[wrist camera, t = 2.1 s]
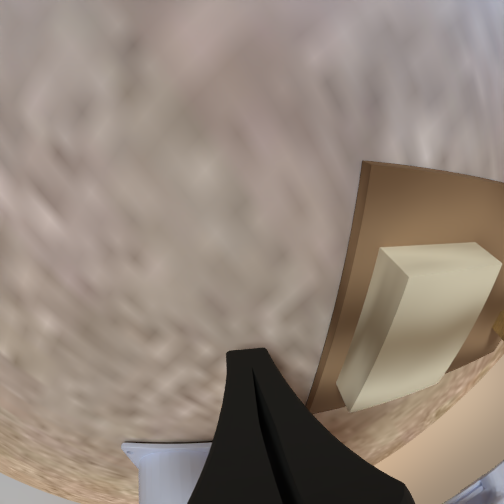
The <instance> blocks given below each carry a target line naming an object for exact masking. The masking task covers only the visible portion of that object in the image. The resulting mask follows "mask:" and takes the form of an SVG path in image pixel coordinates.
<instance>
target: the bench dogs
mask: <svg viewBox="0 0 504 504" xmlns="http://www.w3.org/2000/svg"><path fill="white" fill-rule="evenodd" d="M492 328H493V330H494V331H495V332H496V333H497V334H498V335H499V336H500V338H501V339H502V340H503V341H504V310H503V311H501V312H500V313H499V315H498V317H497V319H496V321H495V323H494V325H493V326H492Z"/></svg>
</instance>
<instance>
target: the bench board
mask: <svg viewBox="0 0 504 504" xmlns="http://www.w3.org/2000/svg"><path fill="white" fill-rule="evenodd" d="M469 242H476V243H477V244H478V245H480V246H481V247H482V248H484V249H485V250H486V251H487V252H489V253H490V254H491V255H493V256H494V257H495V258H496V259H498V260H499V261H500V262H501V263H502V266H501V269H500V271H499V273H498V276H497V278H496V280H495V283H494V285H493V287H492V289H491V292H490V294H489V296H488V298H487V300H486V302H485V304H484V306H483V308H482V310H481V312H480V314H479V316H478V318H477V320H476V322H475V324H474V326H473V328H472V329H471V331H470V333H469V335H468V337H467V338H466V340H465V342H464V343H463V345H462V347H461V348H460V350H459V352H458V353H457V355H456V357H455V358H454V360H453V361H452V363H451V365H450V366H449V368H448V369H447V371H446V372H445V374H446V373H448V372H450V371H453V370H455V369H457V368H460V367H462V366H464V365H466V364H468V363H471V362H473V361H475V360H477V359H479V358H481V357H483V356H485V355H487V354H489V353H491V352H493V351H494V350H495V349H496V347H497V345H498V344H499V342H500V341H501V338H500V336H499V335H498V334H497V333H496V332H495V331H494V330H493V328H492V326H493V325H494V323H495V321H496V319H497V317H498V315H499V313H500V312H501V311H503V310H504V183H503V182H498V181H494V180H489V179H484V178H480V177H475V176H470V175H464V174H459V173H453V172H448V171H442V170H435V169H429V168H422V167H415V166H407V165H400V164H391V163H382V162H373V161H362V168H361V175H360V182H359V189H358V195H357V201H356V207H355V213H354V219H353V224H352V230H351V235H350V240H349V245H348V250H347V255H346V260H345V265H344V269H343V274H342V278H341V283H340V287H339V291H338V295H337V300H336V304H335V308H334V312H333V316H332V319H331V323H330V327H329V331H328V334H327V338H326V342H325V345H324V349H323V352H322V356H321V359H320V363H319V366H318V369H317V373H316V376H315V379H314V382H313V385H312V389H311V392H310V395H309V398H308V401H307V404H306V408H307V409H308V410H309V411H310V412H311V413H312V414H315V413H319V412H324V411H329V410H333V409H337V408H341V407H345V406H346V405H345V403H344V400H343V398H342V396H341V394H340V391H339V389H338V387H337V384H336V382H337V379H338V377H339V374H340V372H341V369H342V366H343V364H344V361H345V358H346V356H347V353H348V350H349V347H350V345H351V342H352V339H353V336H354V333H355V330H356V327H357V324H358V321H359V318H360V315H361V312H362V309H363V305H364V302H365V299H366V295H367V292H368V289H369V285H370V282H371V278H372V275H373V271H374V267H375V263H376V260H377V256H378V252H379V248H380V247H396V246H414V245H432V244H450V243H469Z"/></svg>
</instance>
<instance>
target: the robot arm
mask: <svg viewBox="0 0 504 504" xmlns="http://www.w3.org/2000/svg"><path fill="white" fill-rule="evenodd" d="M226 362H227V377H226V386H225V392H224V398H223V404H222V408H221V412H220V416H219V421H218V425H217V428H216V432H215V435H214V439H213V442H209V443H186V444H149V443H127V442H126V443H122V445H121V448H122V450H123V451H124V452H125V454H126V455H127V456H128V457H129V459H130V460H131V461H132V462H133V463H134V464H135V466H136V467H137V468H138V469H139V504H415V502H414V500H413V498H412V496H411V494H410V492H409V490H408V489H407V487H406V486H405V484H404V483H402V482H401V481H399V480H397V479H395V478H393V477H390V476H389V475H387V474H386V473H384V472H382V471H380V470H379V469H377V468H376V467H374V466H373V465H371V464H369V463H368V462H366V461H365V460H364V459H362V458H361V457H359V456H358V455H357V454H355V453H354V452H353V451H351V450H350V449H349V448H348V447H346V446H345V445H344V444H343V443H341V442H340V441H339V440H338V439H337V438H336V437H335V436H333V435H332V434H331V433H330V432H329V431H328V430H327V429H326V428H325V427H324V426H323V425H322V424H321V423H320V422H319V421H318V420H317V419H316V418H315V417H314V416H313V415H312V413H311V412H310V411H309V410H308V409H307V408H306V407H305V405H304V404H303V403H302V402H301V401H300V399H299V398H298V397H297V396H296V394H295V393H294V392H293V390H292V389H291V388H290V386H289V385H288V384H287V382H286V381H285V379H284V378H283V376H282V375H281V373H280V372H279V370H278V369H277V367H276V365H275V364H274V362H273V360H272V359H271V357H270V355H269V353H268V351H267V349H265V348H255V349H245V350H233V351H228V352H227V353H226ZM442 504H504V460H503V461H502V462H500V463H499V464H498V465H497V466H495V467H494V468H493V469H492V470H490V471H489V472H487V473H486V474H484V475H482V476H481V477H480V478H478V479H477V480H475V481H474V482H472V483H471V484H470V485H468V486H467V487H465V488H464V489H462V490H461V491H460V493H458V494H457V495H455V496H454V497H452V498H450V499H449V500H447V501H446V502H444V503H442Z"/></svg>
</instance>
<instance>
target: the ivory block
mask: <svg viewBox="0 0 504 504" xmlns="http://www.w3.org/2000/svg"><path fill="white" fill-rule="evenodd" d="M501 266H502V263H501V262H500V261H499V260H498V259H496V258H495V257H494V256H493V255H491V254H490V253H489V252H487V251H486V250H485V249H484V248H482V247H481V246H480V245H478V244H477V243H476V242H469V243H450V244H432V245H414V246H396V247H380V248H379V252H378V256H377V260H376V263H375V267H374V271H373V275H372V278H371V282H370V285H369V289H368V292H367V295H366V299H365V302H364V305H363V309H362V312H361V315H360V318H359V321H358V324H357V327H356V330H355V333H354V336H353V339H352V342H351V345H350V347H349V350H348V353H347V356H346V358H345V361H344V364H343V366H342V369H341V372H340V374H339V377H338V379H337V382H336V384H337V387H338V389H339V391H340V394H341V396H342V398H343V400H344V403H345V405H346V407H347V410H348V412H349V413H352V412H355V411H359V410H363V409H366V408H369V407H373V406H376V405H379V404H383V403H386V402H389V401H392V400H395V399H398V398H401V397H403V396H406V395H409V394H412V393H415V392H417V391H420V390H422V389H425V388H428V387H430V386H433V385H435V384H437V383H438V382H439V381H440V380H441V378H442V377H443V375H444V374H445V372H446V371H447V369H448V368H449V366H450V365H451V363H452V361H453V360H454V358H455V357H456V355H457V353H458V352H459V350H460V348H461V347H462V345H463V343H464V342H465V340H466V338H467V337H468V335H469V333H470V331H471V329H472V328H473V326H474V324H475V322H476V320H477V318H478V316H479V314H480V312H481V310H482V308H483V306H484V304H485V302H486V300H487V298H488V296H489V294H490V292H491V289H492V287H493V285H494V283H495V280H496V278H497V276H498V273H499V271H500V269H501Z"/></svg>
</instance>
